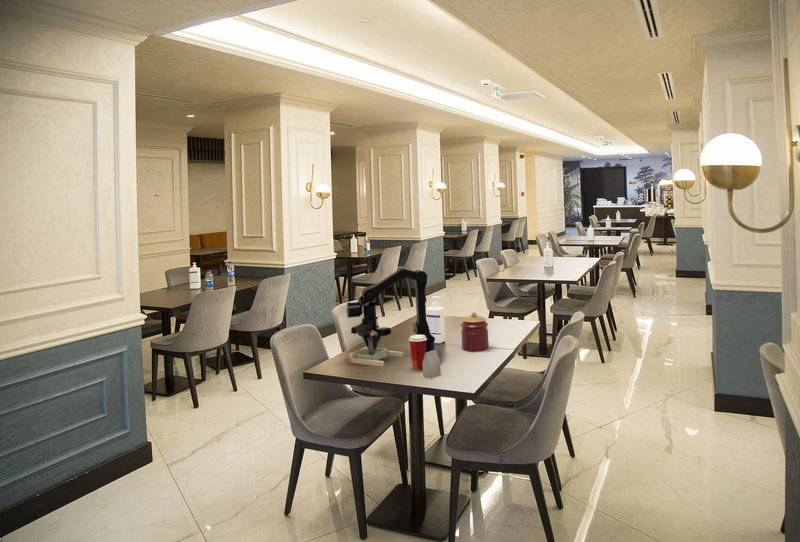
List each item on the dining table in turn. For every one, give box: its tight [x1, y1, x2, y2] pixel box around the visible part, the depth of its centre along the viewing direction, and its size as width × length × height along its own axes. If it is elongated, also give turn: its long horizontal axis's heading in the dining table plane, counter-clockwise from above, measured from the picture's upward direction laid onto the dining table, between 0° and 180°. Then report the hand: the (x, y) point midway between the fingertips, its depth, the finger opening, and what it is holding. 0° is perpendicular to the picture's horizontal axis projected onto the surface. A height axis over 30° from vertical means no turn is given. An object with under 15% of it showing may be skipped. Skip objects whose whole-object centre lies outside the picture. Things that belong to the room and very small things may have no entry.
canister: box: [460, 311, 490, 352], centre depth 272 cm, size 13×13×18 cm
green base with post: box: [356, 335, 389, 361], centre depth 261 cm, size 9×13×10 cm
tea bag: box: [422, 349, 442, 379], centre depth 233 cm, size 4×7×10 cm, turn 136°
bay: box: [348, 346, 405, 367], centre depth 260 cm, size 18×18×5 cm
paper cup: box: [408, 334, 427, 371], centre depth 244 cm, size 8×8×14 cm
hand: (371, 348), depth 261 cm, fingers closed on green base with post, 3 cm apart
